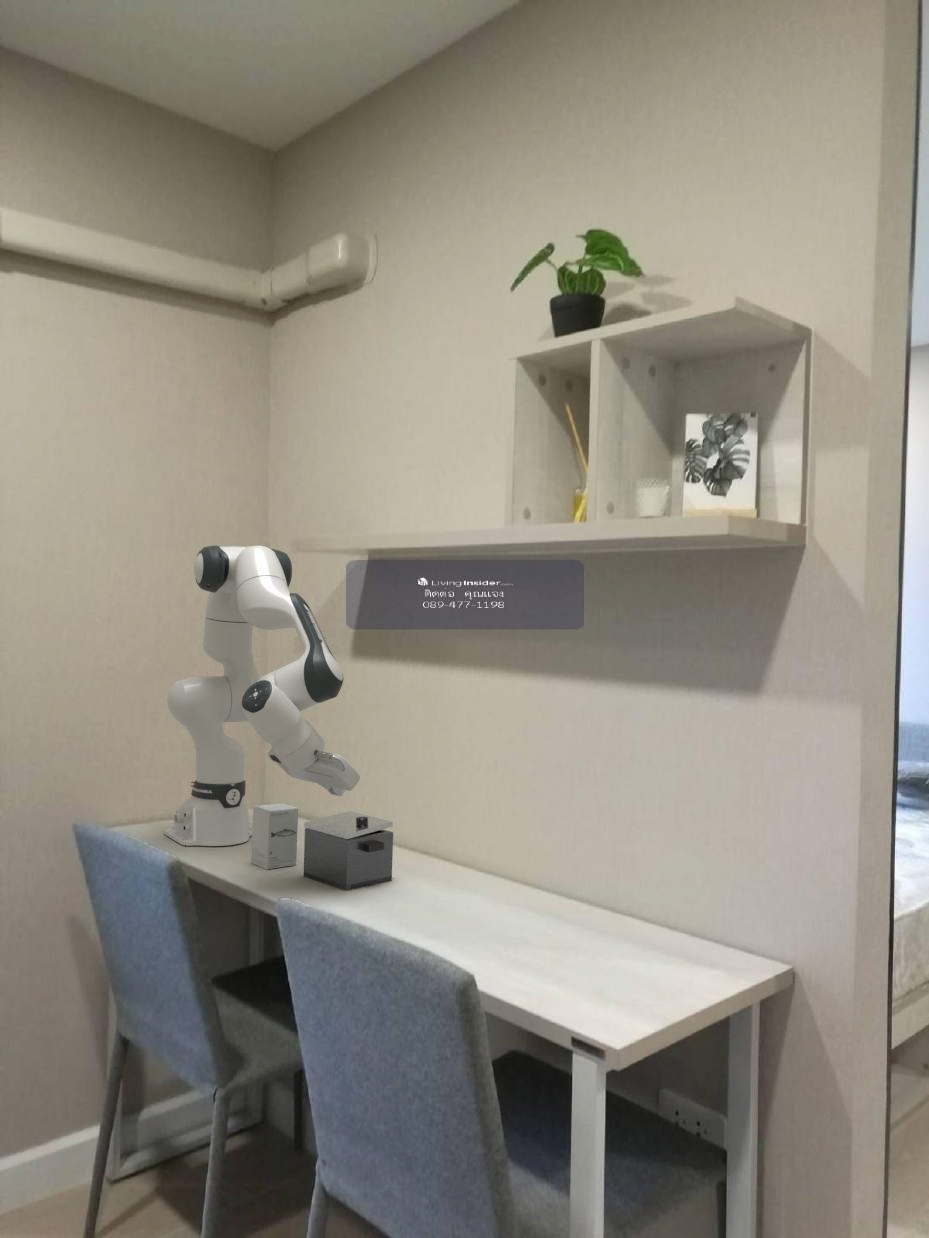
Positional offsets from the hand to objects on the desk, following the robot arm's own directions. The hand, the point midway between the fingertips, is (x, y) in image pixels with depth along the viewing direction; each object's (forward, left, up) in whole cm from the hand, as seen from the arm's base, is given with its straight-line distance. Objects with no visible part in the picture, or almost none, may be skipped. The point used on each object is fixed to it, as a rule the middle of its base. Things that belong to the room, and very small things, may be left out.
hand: (338, 792), depth 202 cm
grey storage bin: (0, +3, -18) cm, 18 cm away
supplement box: (-19, -2, -18) cm, 26 cm away
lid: (0, +3, -7) cm, 8 cm away
